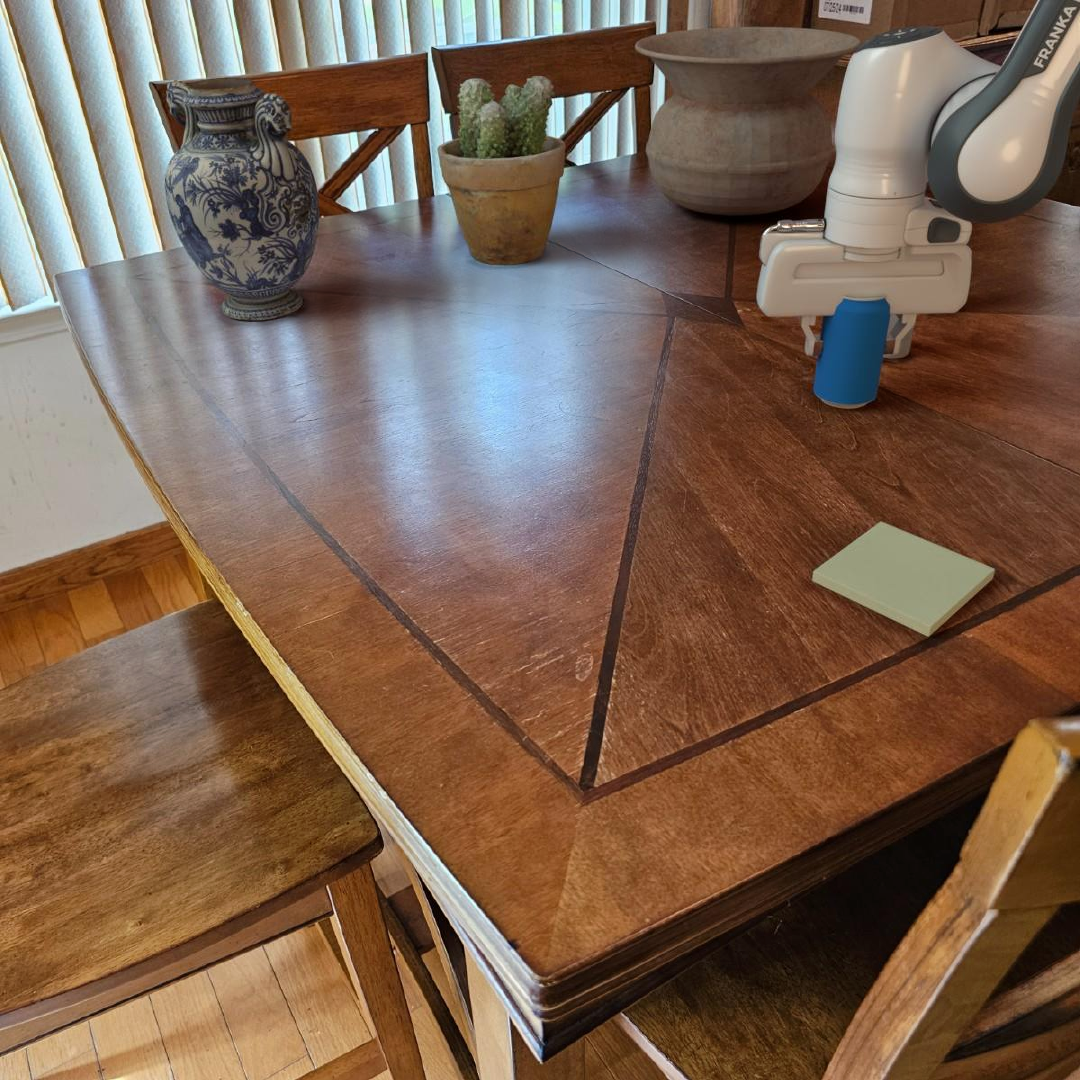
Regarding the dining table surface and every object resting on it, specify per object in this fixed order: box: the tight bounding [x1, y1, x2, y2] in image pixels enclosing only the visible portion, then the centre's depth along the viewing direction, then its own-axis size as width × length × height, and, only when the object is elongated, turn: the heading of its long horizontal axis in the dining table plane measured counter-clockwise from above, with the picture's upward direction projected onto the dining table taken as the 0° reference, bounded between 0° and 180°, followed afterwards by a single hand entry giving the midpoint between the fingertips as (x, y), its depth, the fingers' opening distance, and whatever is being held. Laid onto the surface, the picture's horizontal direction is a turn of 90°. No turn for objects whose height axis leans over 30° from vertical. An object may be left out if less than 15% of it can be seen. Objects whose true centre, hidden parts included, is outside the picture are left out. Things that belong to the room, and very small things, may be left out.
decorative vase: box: [164, 77, 320, 322], centre depth 126 cm, size 21×19×28 cm
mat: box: [811, 521, 996, 638], centre depth 78 cm, size 10×10×1 cm
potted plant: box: [436, 75, 567, 266], centre depth 142 cm, size 18×19×25 cm
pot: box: [634, 26, 862, 216], centre depth 158 cm, size 34×34×25 cm
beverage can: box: [812, 295, 891, 410], centre depth 101 cm, size 6×6×12 cm
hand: (851, 353), depth 102 cm, fingers closed on beverage can, 6 cm apart
